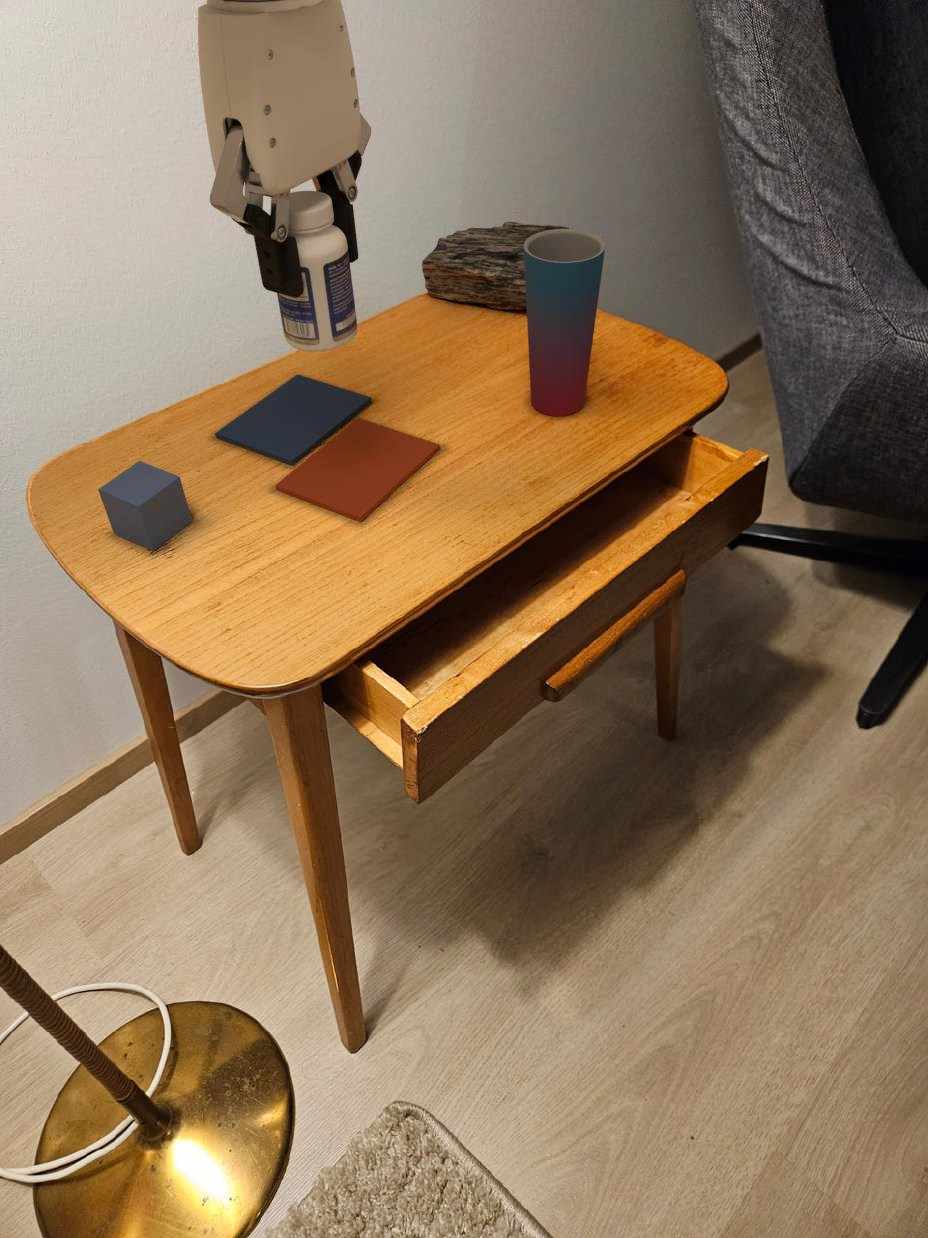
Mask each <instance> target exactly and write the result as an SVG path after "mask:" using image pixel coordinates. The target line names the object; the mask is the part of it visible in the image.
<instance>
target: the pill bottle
mask: <svg viewBox="0 0 928 1238" xmlns="http://www.w3.org/2000/svg"><path fill="white" fill-rule="evenodd" d="M333 221H334V213H333V207H332V200H331V198H330V196H328V195H327V194H325V193H322V192H318V191H316V190H299V191H293V192H290V206H289V225H288V236H291V237H295V239H296V242H297V247H298V254H299V260H300V267H301V274H302V280H303V287H304V291H303V294H302V295H301V296H299V297H298V298H294V297H290V296H286V295H283V294H279V293H276V296H277V301H278V308H279V313H280V319H281V325H282V330H283V335H284V338H285V341H286V342H287V343H288V345H289V346H291V347H292V348H294V349H297V350H299V351H303V352H308V353H321V352H322V353H323V352H329V351H333V350H337V349H340V348H342V347H345V346H346V345H348V344H350V343H351V342H352V341H353V340H354V339H355V338H356V336H357V333H358V319H357V318H358V317H357V309H356V303H355V294H354V286H353V281H352V280H353V279H352V271H351V263H350V260H349V252H348V245H347V240H346V237H345V235H344V233H343V232H342V231H341V230H340V229H339V228H338V227H336V226H334V225H332V223H333Z"/></svg>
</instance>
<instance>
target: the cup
mask: <svg viewBox="0 0 928 1238" xmlns="http://www.w3.org/2000/svg"><path fill="white" fill-rule="evenodd" d="M605 251H606V243H605V241H604V240H603V239H602V238H601V237H600V236H599V235H597V234H595V233H592V232H589V231H585V230H581V229H575V228H574V229H573V228H569V229H554V230H547V231H543V232H540V233H537V234H534V235H532V236H531V237H529V238H528V239H527V240H526V241H525V243H524V263H525V284H526V305H527V309H526V324H527V345H528V346H527V347H528V363H529V364H528V365H529V385H530V386H529V387H530V403H531V406H532V408H533V409H534V410H535V411H537V412H539V413H541V414H542V415H546V416H551V417H567V416H571V415H573V414H576V413H578V412H579V411H581V409H583V407H584V406H585V400H586V393H587V387H588V386H587V385H588V378H589V372H590V363H591V356H592V348H593V341H594V335H595V334H594V333H595V326H596V319H597V313H598V312H597V311H598V304H599V296H600V289H601V284H602V283H601V281H602V275H603V267H604V260H605V253H606V252H605Z"/></svg>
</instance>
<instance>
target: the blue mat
mask: <svg viewBox="0 0 928 1238" xmlns="http://www.w3.org/2000/svg"><path fill="white" fill-rule="evenodd" d="M371 403H372V397H371V396H368V395H365V394H362V393H358V392H355V391H352V390H350V389H346V388H342V387H340V386H337V385H333V384H330V383H326V382H324V381H320V380H317V379H315V378H311V377H308V376H304V375H301V374H296V375H294V376H293V377H291V378H290V379H289V380H287V381H285V382H284V383H283V384H282V385H280V386H279V387H278V388H276V389H275V390H273V391H272V392H271V393H269V394H268V395H266V396H264V397H263V398H262V399H261V400H259V401H258V402H256V403H255V404H254V405H252V406H251V407H249V408H248V409H247V410H245V411H244V412H243V413H241V414H240V415H238V416H237V417H236V418H234V419H233V420H232V421H230V422H229V423H227V424H226V425H225V426H223V427H222V428H220V429H219V430H217V431H216V432H214V435H215V438H216V439H219V440H222V441H225V442H226V443H229V444H233V445H235V446H237V447H241V448H244V449H247V450H249V451H251V452H254V453H257V454H261V455H263V456H266V457H268V458H271V459H273V460H277V461H279V462H282V463H285V464H287V465H291V466H294V465H295V464H296V463H297V462H299V461H300V460H301V459H302V458H304V457H305V456H306V455H308V454H309V453H310V452H311V451H312V450H314V449H315V448H316V447H318V445H320V444H321V443H322V442H323V441H325V440H326V439H328V438H329V437H330V436H331V435H332V434H333V433H335V432H336V431H338V429H340V428H341V427H343V426H344V425H345V424H346V423H347V422H348V421H350V420H351V419H352V418H353V417H355V416H356V415H357V414H358V413H360V412H361V411H362V410H363V409H365V408H366V407H367V406H369V404H371Z"/></svg>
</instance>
